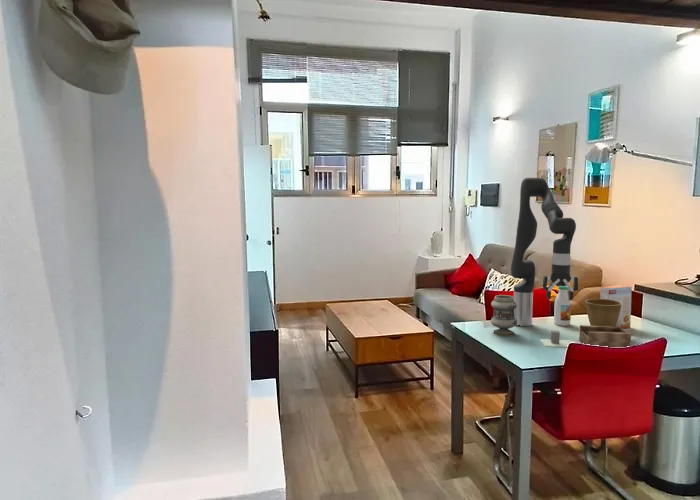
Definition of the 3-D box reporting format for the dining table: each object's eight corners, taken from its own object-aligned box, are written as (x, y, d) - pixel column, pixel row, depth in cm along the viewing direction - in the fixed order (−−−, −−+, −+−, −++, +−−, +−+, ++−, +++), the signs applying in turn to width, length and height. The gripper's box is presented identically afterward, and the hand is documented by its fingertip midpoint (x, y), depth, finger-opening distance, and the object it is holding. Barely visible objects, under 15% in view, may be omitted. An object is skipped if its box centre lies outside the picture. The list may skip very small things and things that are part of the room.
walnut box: (588, 349, 202) (588, 332, 202) (579, 340, 215) (579, 325, 214) (630, 350, 199) (631, 334, 199) (618, 342, 212) (619, 326, 211)
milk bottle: (553, 325, 243) (555, 286, 241) (553, 321, 250) (555, 284, 248) (570, 326, 240) (571, 287, 238) (569, 323, 247) (571, 285, 245)
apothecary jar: (489, 329, 236) (489, 293, 234) (514, 330, 233) (515, 294, 232) (491, 336, 224) (492, 298, 222) (518, 337, 222) (519, 299, 220)
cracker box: (620, 325, 242) (622, 284, 240) (630, 327, 236) (632, 286, 235) (598, 327, 239) (600, 285, 237) (607, 330, 233) (609, 287, 231)
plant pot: (587, 329, 234) (588, 297, 233) (621, 333, 226) (623, 300, 224) (581, 336, 222) (583, 302, 220) (618, 341, 213) (619, 306, 212)
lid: (544, 347, 207) (545, 334, 206) (540, 341, 217) (540, 328, 216) (580, 349, 204) (580, 335, 203) (573, 342, 214) (574, 329, 213)
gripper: (545, 264, 206) (544, 300, 208) (580, 264, 204) (579, 301, 205) (542, 261, 214) (540, 297, 215) (576, 262, 211) (574, 298, 213)
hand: (559, 299), depth 210 cm, fingers open, 8 cm apart
